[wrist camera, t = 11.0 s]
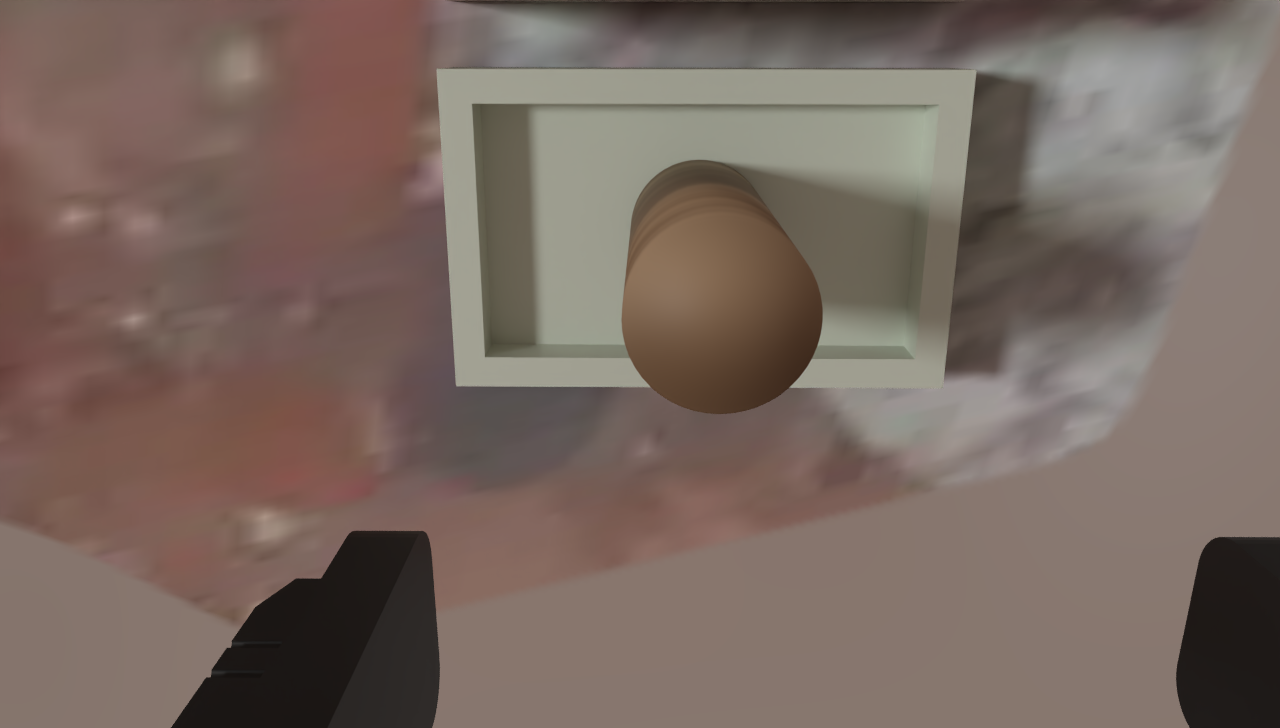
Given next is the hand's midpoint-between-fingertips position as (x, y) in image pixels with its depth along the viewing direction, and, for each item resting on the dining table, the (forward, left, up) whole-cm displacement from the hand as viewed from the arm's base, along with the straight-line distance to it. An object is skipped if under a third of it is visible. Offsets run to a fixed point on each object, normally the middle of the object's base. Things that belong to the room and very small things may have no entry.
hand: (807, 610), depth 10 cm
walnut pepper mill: (0, 0, -23) cm, 22 cm away
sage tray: (0, 0, -24) cm, 24 cm away
